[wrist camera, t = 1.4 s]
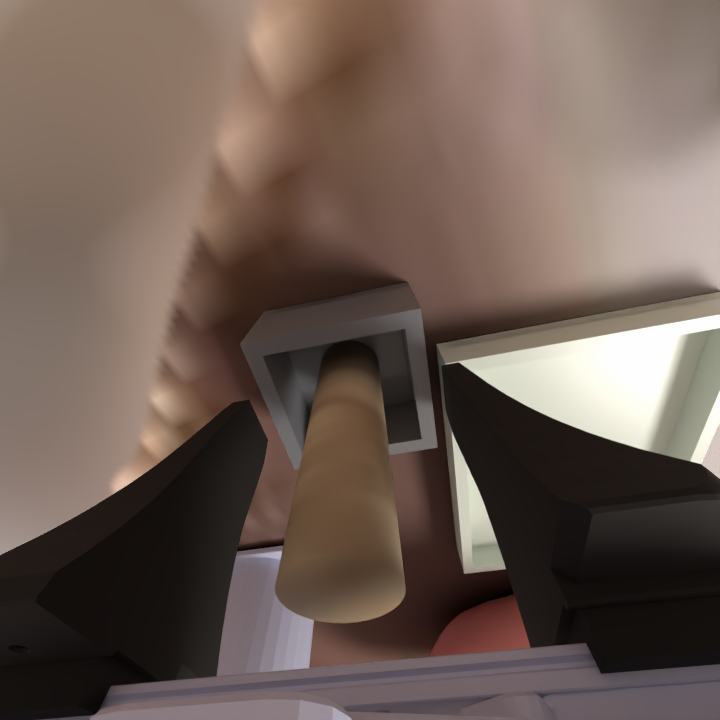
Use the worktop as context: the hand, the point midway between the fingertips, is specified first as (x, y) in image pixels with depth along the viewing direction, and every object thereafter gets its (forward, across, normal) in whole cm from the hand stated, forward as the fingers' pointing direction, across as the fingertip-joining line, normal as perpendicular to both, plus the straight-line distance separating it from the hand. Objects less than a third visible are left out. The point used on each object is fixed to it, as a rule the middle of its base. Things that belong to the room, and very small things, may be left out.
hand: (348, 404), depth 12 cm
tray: (+3, -10, +8) cm, 13 cm away
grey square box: (+3, 0, 0) cm, 3 cm away
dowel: (+3, 0, 0) cm, 3 cm away
